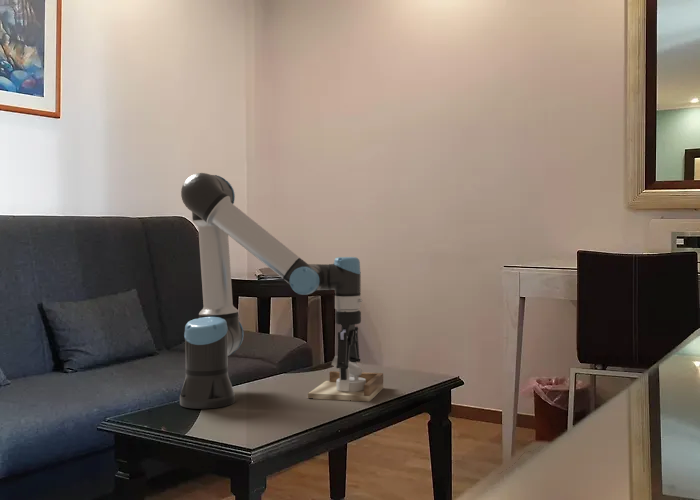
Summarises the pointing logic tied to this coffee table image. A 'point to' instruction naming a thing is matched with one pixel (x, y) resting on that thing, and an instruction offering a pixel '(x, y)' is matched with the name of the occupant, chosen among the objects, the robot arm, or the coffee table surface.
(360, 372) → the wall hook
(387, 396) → the coffee table surface
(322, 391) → the wooden corner jig board
